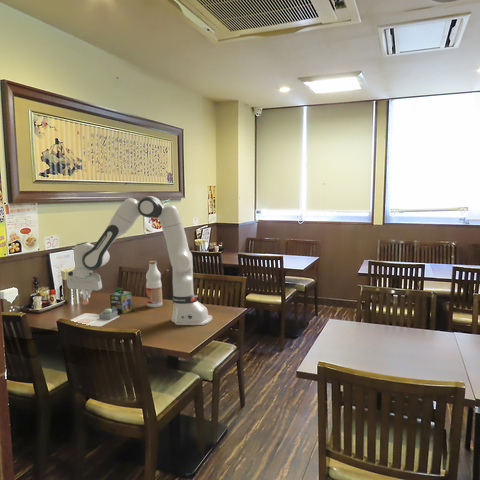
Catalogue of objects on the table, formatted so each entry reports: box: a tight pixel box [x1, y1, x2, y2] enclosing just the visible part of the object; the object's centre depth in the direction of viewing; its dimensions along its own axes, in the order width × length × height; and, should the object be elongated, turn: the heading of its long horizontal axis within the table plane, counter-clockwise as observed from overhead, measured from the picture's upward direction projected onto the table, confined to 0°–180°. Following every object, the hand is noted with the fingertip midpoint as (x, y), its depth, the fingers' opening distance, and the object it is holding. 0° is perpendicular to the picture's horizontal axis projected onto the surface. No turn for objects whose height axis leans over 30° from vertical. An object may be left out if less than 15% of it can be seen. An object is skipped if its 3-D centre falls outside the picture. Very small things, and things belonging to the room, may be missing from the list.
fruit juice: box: [145, 260, 163, 308], centre depth 241 cm, size 9×9×28 cm
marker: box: [82, 289, 89, 305], centre depth 211 cm, size 3×3×10 cm
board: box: [70, 310, 121, 327], centre depth 216 cm, size 24×18×4 cm
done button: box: [104, 307, 112, 314], centre depth 218 cm, size 4×4×3 cm
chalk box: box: [109, 287, 134, 315], centre depth 230 cm, size 9×9×15 cm
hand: (85, 297), depth 211 cm, fingers closed on marker, 2 cm apart
